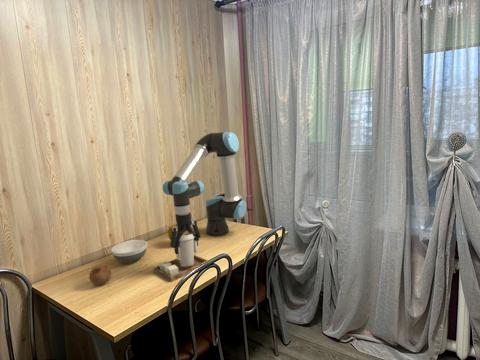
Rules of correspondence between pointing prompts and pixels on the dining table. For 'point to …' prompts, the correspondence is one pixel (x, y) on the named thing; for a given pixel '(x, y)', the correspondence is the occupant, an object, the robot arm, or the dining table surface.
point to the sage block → (165, 266)
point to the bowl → (129, 251)
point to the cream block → (172, 270)
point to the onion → (100, 274)
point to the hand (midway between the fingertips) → (187, 255)
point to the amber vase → (171, 231)
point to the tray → (179, 268)
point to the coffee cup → (187, 249)
